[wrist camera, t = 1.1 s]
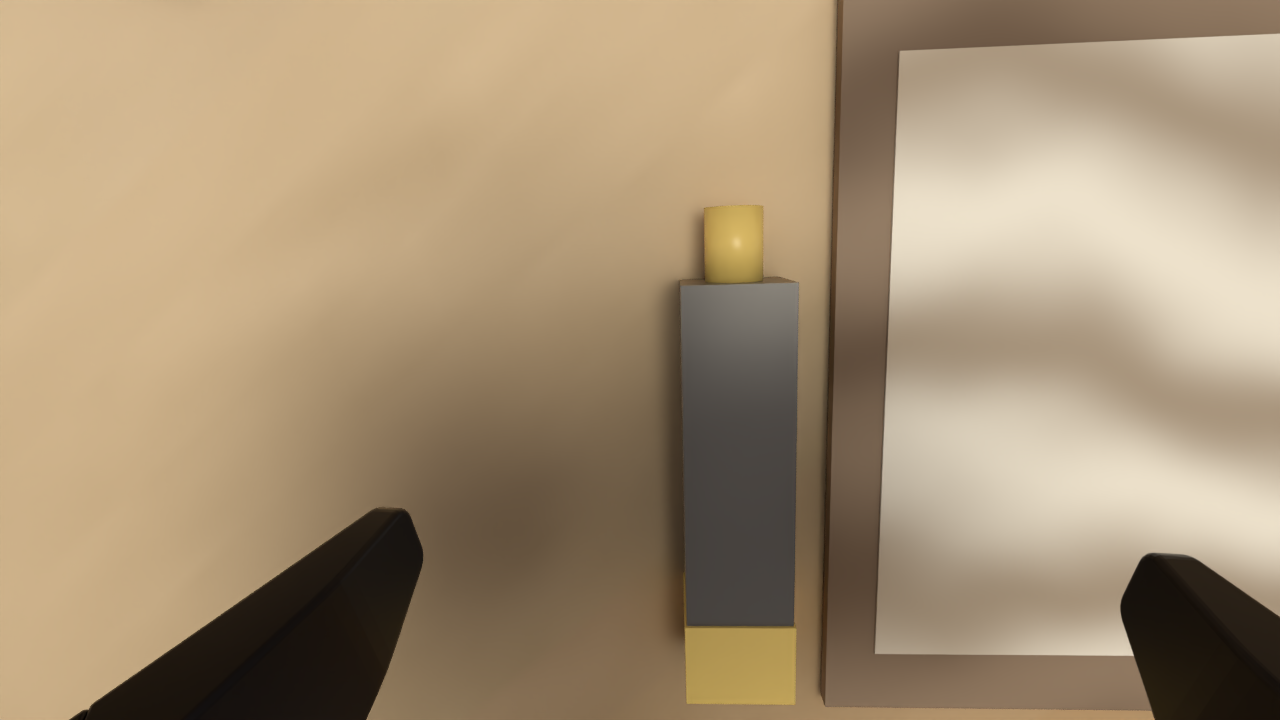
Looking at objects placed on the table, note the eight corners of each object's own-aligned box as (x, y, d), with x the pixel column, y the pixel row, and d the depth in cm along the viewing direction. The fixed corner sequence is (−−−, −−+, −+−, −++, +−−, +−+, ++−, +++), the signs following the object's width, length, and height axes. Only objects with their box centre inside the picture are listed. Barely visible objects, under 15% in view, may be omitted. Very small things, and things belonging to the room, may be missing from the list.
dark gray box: (777, 638, 21) (795, 704, 18) (684, 638, 21) (686, 703, 18) (781, 208, 19) (802, 201, 16) (676, 212, 19) (677, 205, 16)
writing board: (1323, 699, 20) (1345, 715, 20) (820, 693, 21) (825, 708, 21) (1459, -49, 17) (1493, -62, 16) (838, -17, 17) (845, -28, 17)
